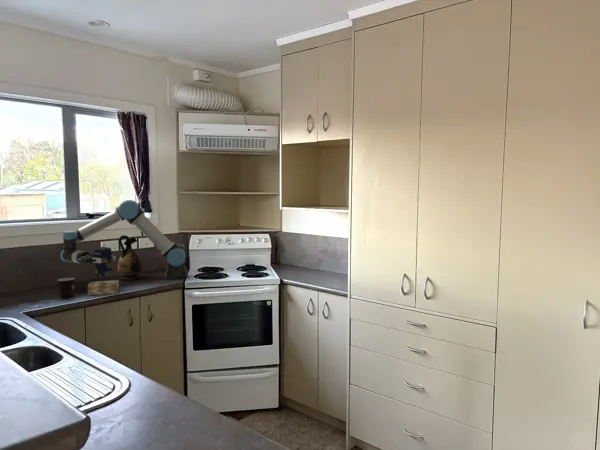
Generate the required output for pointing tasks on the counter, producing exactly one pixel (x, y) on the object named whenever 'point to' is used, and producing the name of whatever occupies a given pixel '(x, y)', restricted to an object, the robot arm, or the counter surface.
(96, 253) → the canister
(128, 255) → the ceramic jug
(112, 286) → the dock
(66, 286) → the coffee mug
